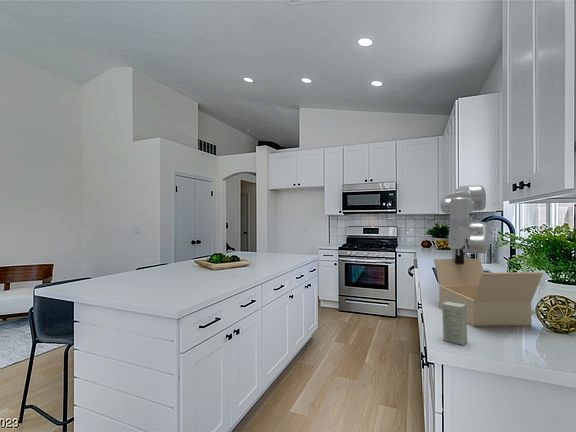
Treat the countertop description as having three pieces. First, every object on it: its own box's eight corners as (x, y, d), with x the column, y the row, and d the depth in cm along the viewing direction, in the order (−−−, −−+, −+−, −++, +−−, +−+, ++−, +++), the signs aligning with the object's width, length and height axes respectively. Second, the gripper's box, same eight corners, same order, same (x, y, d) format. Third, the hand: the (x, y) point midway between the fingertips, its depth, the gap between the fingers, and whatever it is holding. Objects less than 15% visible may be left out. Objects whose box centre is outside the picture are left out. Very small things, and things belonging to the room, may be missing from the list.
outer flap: (482, 272, 107) (483, 273, 107) (541, 272, 108) (542, 273, 107) (473, 300, 112) (474, 301, 112) (530, 299, 113) (531, 300, 112)
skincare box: (467, 341, 99) (467, 304, 99) (463, 345, 96) (463, 307, 96) (446, 336, 104) (446, 300, 104) (442, 339, 101) (441, 303, 101)
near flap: (480, 258, 141) (479, 259, 142) (434, 259, 141) (433, 259, 141) (486, 284, 137) (486, 285, 137) (439, 285, 136) (439, 285, 137)
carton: (439, 307, 136) (439, 285, 136) (487, 306, 137) (487, 285, 137) (473, 327, 112) (473, 300, 112) (531, 326, 113) (531, 300, 113)
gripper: (442, 223, 147) (442, 261, 146) (461, 224, 132) (461, 266, 132) (457, 223, 147) (458, 261, 147) (478, 224, 132) (478, 266, 132)
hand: (459, 263), depth 139 cm, fingers closed
